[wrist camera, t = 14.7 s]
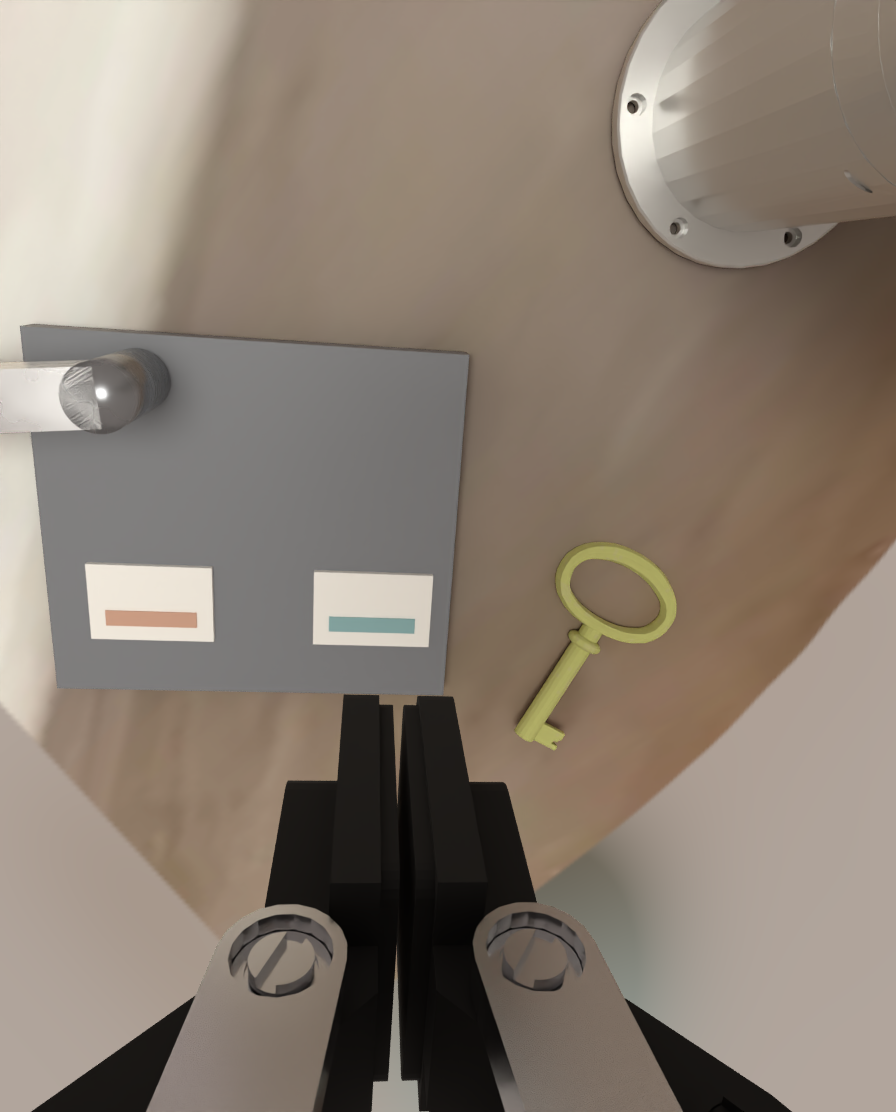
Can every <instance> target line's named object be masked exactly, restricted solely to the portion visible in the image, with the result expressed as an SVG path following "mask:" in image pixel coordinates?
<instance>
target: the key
mask: <svg viewBox="0 0 896 1112" xmlns="http://www.w3.org/2000/svg"><path fill="white" fill-rule="evenodd" d="M588 559H601V560H608V561H612V562H615V563H618V564H620V565H623V566H625V567H627V568H629V569H631V570H632V571H634V572H635V573H637V574H638V575H640V576H641V577H642V578H643V579H644V580H645V581H646V582H647V583H648V584H649V585H650V586H651V588H652V589H653V590H654V592H655V594H656V595H657V597H658V599H659V601H660V612H659V614H658V616H657V617H656V619H655V620H654V621H652V622H651V623H650V624H648V625H646V626H644V627H640V628H629V627H622V626H617V625H615V624H612V623H609V622H607V621H605V620H603V619H601V618H599V617H598V616H596V615H595V614H593V613H592V612H590V611H589V610H588V609H586V608H585V607H584V606H583V605H582V604H581V603H580V602H579V601H578V600H577V599H576V597H575V596H574V594H573V592H572V591H571V589H570V578H571V575H572V573H573V571H574V569H575V567H576V566H577V565H578V564H580V563H581V562H583V561H585V560H588ZM555 584H556V590H557V594H558V595H559V597H560V599H561V601H562V603H563V605H564V607H565V608H566V609H567V610H568V611H569V612H570V613H571V614H572V615H573V616H574V617H575V618H576V619H578V620H579V621H580V622H582V623H583V624H582V626H581V628H580V629H579V631H576V630H571V631H570V632H569V634H568V636H569V639H570V640H571V643H570V645H569V646H568V648H567V649H566V651H565V652H564V654H563V655H562V657H561V658H560V660H559V662H558V663H557V665H556V666H555V668H554V669H553V671H552V672H551V674H550V675H549V677H548V679H547V680H546V682H545V683H544V685H543V686H542V688H541V689H540V691H539V692H538V694H537V696H536V697H535V699H534V700H533V702H532V703H531V705H530V706H529V708H528V709H527V711H526V713H525V714H524V716H523V717H522V719H521V720H520V722H519V723H518V725H517V726H516V728H515V732H516V733H517V734H518V735H519V736H520V737H521V738H523V739H524V740H526V741H528V742H532V741H533V740H535V741H537V742H539V743H541V744H543V745H545V746H547V747H549V748H551V749H553V750H555V749H556V748H557V745H556V744H555V743H554V742H553V741H555V742H558V740H560V741H561V740H562V739H563V737H564V736H565V734H564V732H563V731H561V730H559V729H557V728H555V727H553V726H551V725H549V724H547V723H546V722H545V721H546V720H547V718H548V717H549V715H550V714H551V712H552V711H553V709H554V708H555V706H556V705H557V703H558V702H559V700H560V698H561V697H562V695H563V694H564V692H565V691H566V689H567V688H568V686H569V685H570V683H571V682H572V680H573V679H574V677H575V675H576V674H577V672H578V671H579V669H580V668H581V666H582V665H583V663H584V662H585V660H586V659H587V657H588V656H589V654H590V653H591V654H598V653H599V652H600V647H599V645H598V644H597V642H598V640H599V639H600V637H601V636H602V635H605V636H607V637H610V638H612V639H615V640H618V641H621V642H627V643H647V642H650V641H653V640H655V639H657V638H659V637H660V636H662V635H663V634H664V633H665V632H666V631H667V630H668V629H669V627H670V626H671V625H672V623H673V621H674V619H675V615H676V599H675V596H674V593H673V590H672V587H671V585H670V583H669V581H668V579H667V578H666V576H665V575H664V573H663V572H662V571H661V570H660V569H659V567H657V566H656V565H655V564H654V563H653V562H651V561H650V560H649V559H647V558H646V557H644V556H643V555H641V554H640V553H638V552H636V551H634V550H632V549H629V548H627V547H625V546H622V545H619V544H615V543H607V542H592V543H586V544H583V545H580V546H578V547H576V548H574V549H572V550H571V551H570V552H568V553H567V554H566V555H565V557H564V558H563V559H562V560H561V562H560V564H559V566H558V568H557V571H556V575H555Z"/></svg>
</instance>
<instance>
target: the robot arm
mask: <svg viewBox="0 0 896 1112" xmlns="http://www.w3.org/2000/svg"><path fill="white" fill-rule="evenodd" d="M628 102H632V103H634V105H635V109H636V110H635V113H634V114H631V113H629V111H628V110H627V104H628ZM612 147H613V152H614V158H615V164H616V170H617V174H618V177H619V180H620V182H621V185H622V188H623V191H624V193H625V196H626V199H627V200H628V202H629V204H630V205H631V207H632V209H633V210H634V212H635V214H636V215H637V217H638V219H639V221H640V222H641V223H642V224H643V225H644V226H645V227H646V228H647V230H648V231H649V232H650V233H651V234H652V235H653V236H654V237H655V238H656V239H657V240H658V241H659V242H661V243H662V244H663V245H665V246H666V247H667V248H669V249H670V250H672V251H673V252H674V253H676V254H678V255H680V256H682V257H685V258H687V259H689V260H692V261H694V262H696V263H699V264H703V265H709V266H714V267H719V268H748V267H755V266H763V265H768V264H771V263H774V262H777V261H780V260H783V259H786V258H789V257H791V256H793V255H795V254H797V253H799V252H800V251H802V250H804V249H806V248H807V247H809V246H811V245H813V244H814V243H816V242H817V241H818V240H819V239H821V238H822V237H823V236H824V235H825V234H827V233H828V232H829V231H830V230H832V229H833V228H834V227H835V226H836V225H837V224H838V223H839V222H847V221H856V220H864V219H873V218H882V217H891V216H896V0H662V1H661V3H660V4H659V5H658V6H657V8H656V9H655V10H654V12H653V13H652V14H651V15H650V17H649V18H648V19H647V21H646V22H645V23H644V24H643V26H642V27H641V29H640V31H639V33H638V35H637V37H636V39H635V40H634V42H633V44H632V46H631V48H630V50H629V52H628V54H627V56H626V59H625V62H624V65H623V68H622V71H621V74H620V77H619V80H618V83H617V88H616V94H615V100H614V106H613V112H612ZM672 223H675V224H676V226H677V231H676V233H675V234H674V235H673V234H671V233H670V225H671V224H672ZM785 233H787V235H788V240H787V242H786V243H784V235H785ZM396 945H397V967H398V998H399V1027H400V1057H401V1079H402V1080H403V1081H404V1080H418V1097H419V1111H429V1112H792V1111H790V1110H789V1109H788V1108H787V1107H785V1106H784V1105H783V1104H782V1103H781V1102H779V1101H778V1100H777V1099H776V1098H774V1097H773V1096H772V1095H771V1094H769V1093H768V1092H766V1091H764V1090H763V1089H762V1088H760V1087H759V1086H757V1085H755V1084H754V1083H752V1082H751V1081H749V1080H748V1079H746V1078H745V1077H743V1076H742V1075H740V1074H739V1073H737V1072H736V1071H734V1070H733V1069H731V1068H730V1067H728V1066H727V1065H725V1064H724V1063H722V1062H721V1061H719V1060H717V1059H716V1058H715V1057H713V1056H712V1055H710V1054H709V1053H707V1052H706V1051H704V1050H703V1049H701V1048H700V1047H698V1046H696V1045H695V1044H693V1043H692V1042H690V1041H689V1040H687V1039H686V1038H684V1037H683V1036H681V1035H680V1034H678V1033H677V1032H675V1031H674V1030H672V1029H671V1028H669V1027H668V1026H666V1025H665V1024H663V1023H662V1022H660V1021H659V1020H657V1019H655V1018H654V1017H653V1016H651V1015H650V1014H648V1013H647V1012H645V1011H644V1010H642V1009H640V1008H639V1007H638V1006H636V1005H634V1004H633V1003H631V1002H630V1001H628V1000H627V999H625V998H624V997H623V995H622V993H621V991H620V989H619V987H618V985H617V983H616V981H615V979H614V977H613V976H612V973H611V972H610V970H609V968H608V966H607V964H606V962H605V960H604V958H603V956H602V954H601V952H600V950H599V948H598V946H597V944H596V942H595V941H594V939H593V938H592V937H591V935H590V934H589V932H588V931H587V930H586V928H585V927H584V926H583V925H582V924H581V923H579V922H578V921H577V920H576V919H574V918H573V917H572V916H571V915H569V914H567V913H565V912H563V911H561V910H559V909H556V908H555V907H552V906H547V905H543V904H539V903H537V901H536V897H535V893H534V889H533V886H532V882H531V878H530V874H529V870H528V866H527V862H526V858H525V854H524V851H523V847H522V843H521V839H520V835H519V831H518V827H517V823H516V820H515V816H514V812H513V808H512V804H511V800H510V796H509V792H508V789H507V786H506V784H505V783H504V782H469V778H468V773H467V768H466V762H465V757H464V751H463V746H462V741H461V735H460V730H459V725H458V719H457V714H456V708H455V703H454V699H453V697H445V696H418V697H417V704H416V705H404V707H403V719H402V736H401V753H400V770H399V787H398V804H397V792H396V768H395V745H394V721H393V705H379V695H344V698H343V711H342V725H341V739H340V752H339V766H338V779H337V781H287V784H286V788H285V793H284V799H283V805H282V811H281V817H280V822H279V828H278V834H277V840H276V845H275V851H274V857H273V863H272V868H271V874H270V880H269V886H268V891H267V897H266V903H265V908H262V909H258V910H257V911H255V912H253V913H251V914H249V915H247V916H245V917H243V918H241V919H240V920H239V921H237V922H236V923H235V924H234V925H233V926H232V927H230V928H229V929H228V930H227V931H226V933H225V934H224V936H223V937H222V939H221V940H220V942H219V944H218V945H217V947H216V949H215V952H214V954H213V956H212V959H211V961H210V963H209V966H208V968H207V970H206V973H205V975H204V978H203V980H202V982H201V984H200V987H199V989H198V991H197V994H196V996H194V997H193V998H191V999H190V1000H188V1001H187V1002H186V1003H184V1004H183V1005H181V1006H180V1007H179V1008H177V1009H176V1010H174V1011H173V1012H171V1013H170V1014H169V1015H167V1016H166V1017H165V1018H163V1019H162V1020H160V1021H159V1022H157V1023H156V1024H155V1025H153V1026H152V1027H150V1028H149V1029H147V1030H146V1031H145V1032H143V1033H142V1034H141V1035H139V1036H138V1037H136V1038H135V1039H133V1040H132V1041H130V1042H129V1043H128V1044H126V1045H125V1046H124V1047H122V1048H121V1049H119V1050H118V1051H116V1052H115V1053H114V1054H112V1055H111V1056H109V1057H108V1058H107V1059H105V1060H104V1061H102V1062H101V1063H99V1064H98V1065H97V1066H95V1067H94V1068H92V1069H91V1070H89V1071H88V1072H87V1073H85V1074H84V1075H82V1076H81V1077H80V1078H78V1079H77V1080H75V1081H74V1082H73V1083H71V1084H70V1085H68V1086H67V1087H66V1088H64V1089H63V1090H61V1091H60V1092H58V1093H57V1094H56V1095H54V1096H53V1097H51V1098H50V1099H49V1100H47V1101H46V1102H45V1103H43V1104H41V1105H40V1106H39V1107H37V1108H36V1109H35V1110H33V1111H32V1112H371V1111H372V1092H373V1082H375V1081H388V1072H389V1057H390V1040H391V1025H392V1009H393V993H394V992H393V991H394V977H395V961H396Z"/></svg>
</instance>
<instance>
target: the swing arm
mask: <svg viewBox="0 0 896 1112" xmlns="http://www.w3.org/2000/svg"><path fill="white" fill-rule="evenodd" d="M169 388H170V378H169V374H168V371H167V369H166V367H165V365H164V363H163V362H162V361H161V360H160V359H159V358H158V357H157V356H156V355H154V354H153V353H151V352H149V351H147V350H144V349H140V348H128V349H124V350H121V351H118V352H114V353H111V354H108V355H104V356H101V357H98V358H94V359H91V360H67V361H36V362H4V363H0V433H18V432H44V431H70V430H84V431H87V432H89V433H93V434H109V433H113V432H116V431H118V430H119V429H121V428H123V427H124V426H126V425H128V424H129V423H131V422H133V421H134V420H136V419H138V418H139V417H141V416H142V415H144V414H146V413H147V412H149V411H151V410H152V409H154V408H156V407H157V406H159V405H160V404H161V403H162V402H163V401H164V400H165V398H166V397H167V395H168V392H169Z"/></svg>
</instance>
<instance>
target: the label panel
mask: <svg viewBox="0 0 896 1112" xmlns="http://www.w3.org/2000/svg"><path fill="white" fill-rule="evenodd" d="M20 331H21V341H22V351H23V360H24V362H36V361H67V360H91V359H94V358H98V357H101V356H104V355H108V354H111V353H114V352H118V351H121V350H124V349H128V348H140V349H144V350H147V351H149V352H151V353H153V354H154V355H156V356H157V357H158V358H159V359H160V360H161V361H162V362H163V363H164V365H165V367H166V369H167V371H168V374H169V378H170V388H169V392H168V395H167V397H166V398H165V400H164V401H163V402H162V403H161V404H160V405H159V406H157V407H156V408H154V409H152V410H151V411H149V412H147V413H146V414H144V415H142V416H141V417H139V418H138V419H136V420H134V421H133V422H131V423H129V424H128V425H126V426H124V427H123V428H121V429H119V430H118V431H116V432H113V433H109V434H93V433H89V432H87V431H84V430H70V431H44V432H31V438H32V448H33V457H34V467H35V477H36V486H37V496H38V506H39V515H40V525H41V535H42V544H43V554H44V564H45V573H46V583H47V593H48V602H49V612H50V622H51V631H52V641H53V651H54V660H55V670H56V680H57V688H76V689H131V690H186V691H240V692H295V693H350V694H405V695H443V689H444V676H445V663H446V650H447V637H448V624H449V611H450V598H451V585H452V572H453V559H454V546H455V533H456V520H457V507H458V494H459V482H460V469H461V456H462V443H463V430H464V417H465V404H466V391H467V378H468V365H469V354H467V353H466V352H456V351H441V350H426V349H410V348H395V347H379V346H364V345H349V344H333V343H318V342H302V341H287V340H272V339H256V338H241V337H225V336H210V335H195V334H179V333H164V332H149V331H133V330H118V329H102V328H87V327H72V326H56V325H41V324H30V325H24V326H20Z"/></svg>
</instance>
